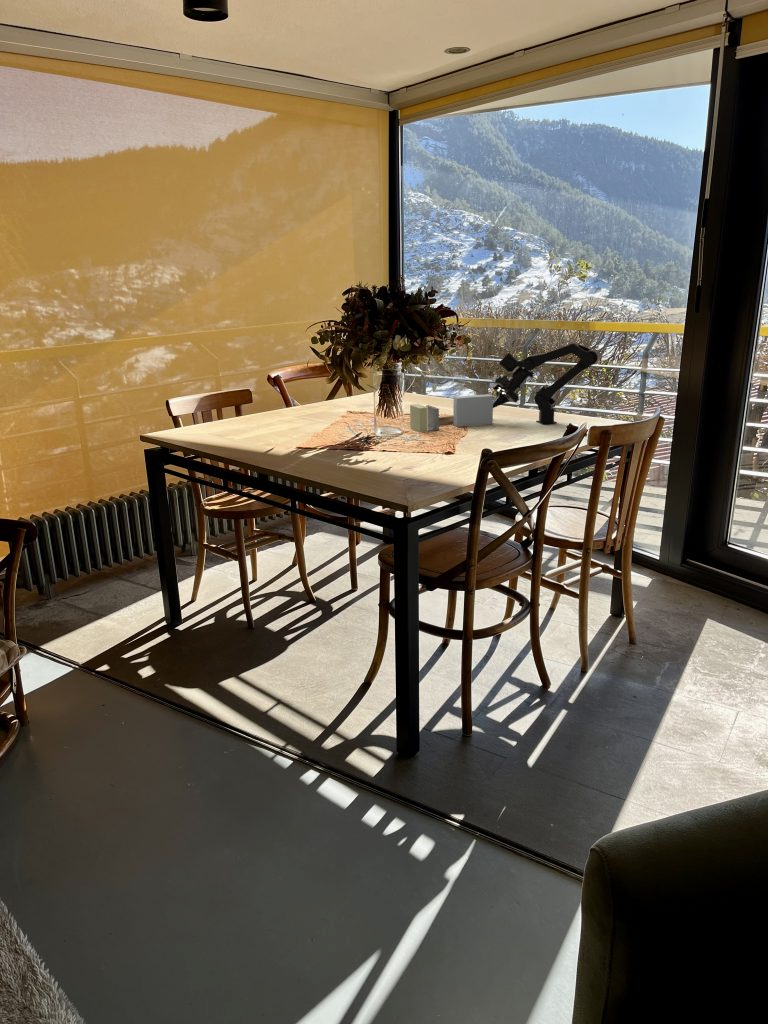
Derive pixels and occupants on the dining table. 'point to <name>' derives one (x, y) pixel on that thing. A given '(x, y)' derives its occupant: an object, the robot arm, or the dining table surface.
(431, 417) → the bookend
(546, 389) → the robot arm
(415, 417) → the shelved book
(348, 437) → the dining table surface
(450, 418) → the rail
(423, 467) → the dining table surface
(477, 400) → the boxed book
